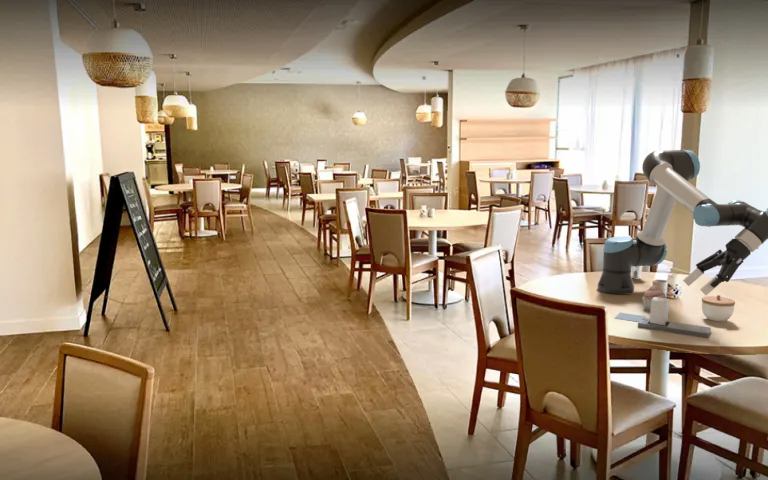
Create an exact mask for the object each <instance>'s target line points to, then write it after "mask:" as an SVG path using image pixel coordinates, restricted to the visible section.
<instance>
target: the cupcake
mask: <svg viewBox="0 0 768 480" xmlns="http://www.w3.org/2000/svg"><path fill="white" fill-rule="evenodd" d="M643 294H644V295H642V296H641V300H642V301H643V306H644V309H645V310H646V311H649V312H650V311H651V300H652V299H653V298H654V297H659V298H666V297H667V296H666V293H665V292H664V291H663V290H662V289H661V288H659V287H658V286H657V284H654V285H652V286H650V287H648V289H646V290H645V292H644V293H643Z"/></svg>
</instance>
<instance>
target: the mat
mask: <svg viewBox="0 0 768 480" xmlns="http://www.w3.org/2000/svg"><path fill="white" fill-rule="evenodd" d="M642 318H646V315H639V314H633V313H628V312H627V313H626V312H619V313H618V314H617V315H616V316H615V317H614V320H615V319H617V320H621V321H628V322H636V323H638V322H639V321H640V320H641V319H642Z"/></svg>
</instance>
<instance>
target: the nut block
mask: <svg viewBox="0 0 768 480" xmlns="http://www.w3.org/2000/svg"><path fill="white" fill-rule="evenodd" d="M669 306H670V298H666V297H665V298H659V297H654V298H653V299H652V300H651V311H649V313H650V314H649V319H650V324H653V325H659V326H666V327H667V323H668V321H669V320H668V319H669V310H670V309H669Z"/></svg>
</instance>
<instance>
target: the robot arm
mask: <svg viewBox="0 0 768 480" xmlns="http://www.w3.org/2000/svg"><path fill="white" fill-rule="evenodd" d="M642 162H643V163H642V167H641V168H642V172H643V175H644V176H645V178H646V179H647V180H648V181H649V182H651V184H653V185H655V186H658V187H657V190H656V192H655V195H654V197H653V200H652V203H651V206H650V209H649V211H648V214H647V217H646V219H645V222H644V225H643V228H642V230H640V231H638V232H637V233H636V236H635V238H634V239H633V238H632V237H631V236H613V237H610V238H607V239H606V240H605V241H604V245H603V259H602V261H603V262H602V273H601V276H600V277H599V280H598V283H597V291H599V292H601V293H606V294H612V295H631V294H633V293H635V285H634V281H633V279H632V277H631V267H632V266H643V267H644V266H645V267H653V266H657V265H660V264H661V263H663V261H665V258H666V257H667V253H668V250H667V248H668V247H667V245H666V241H665V238H664V234H665V232H666V229H667V226H668V224H669V221H670V218H671V217H672V214H673V210H674V208H675V206H676V203H677V201H678V203H680V204H681V205H682V206H684V207H685V208H686V209H687V210H688V211H690V212H691V213H692V218H693V220H694V223H695V224H696V225H697V226H699V227H709V228H710V227H722V226H724V227H725V226H727V227H728V226H741V227H743V228H742V229H741V230H740V231H739V232H738V233H737V234H736V235H735V236H734V238H731V239H730V240H729V241H728V242H727V243H726V244H725V249H726V250H724V251H722V249H718V250H717V251H716V252H714V253H713V254H711V255H710V256H708V257H706V258H705V259H703V260H701V261H700V262H697V263H696V264H695V266H696V268H695V269H694V270H693V271H692V272H691V273H689V274H688V275H687V276H685V278H684V279H683V280H682V281H683V283H685V284H686V285H687V286H688V287H690V286H691V285H692V284H693V283H694V282H696V281H697V280H698V279H699V278H700V277H701V276H702V275H704V274H705V272H706V271H709V270H711V269H713V268H717V266H718V267H720V269H719V270H718V271H719V272H718V273H717V274H715V276H713V277H712V278H711V279H710V280H709V281H707V282H706V283H705V284H704V285H703V286H702V287H701V288H700V291H701V292H702V293H703V294H704V295H705V296H708V295H709V294H710V293H711V292H713V290H714V289H716V288H717V287H718V286H719V285H720V284H721V283H724V282H726V283H728V282H729V281H730V280H731V279H732V277H733V276H734V275H735V273H736V272H737V270H738V268H739V267H740V266H742V264H743V263H744V260H746V259H747V258H748V257H749V256H750V255H751V253H754V252H755V251H756V250H759V248H760V246H761V245H763V244H765V242H766V241H767V240H768V208H767V207H766V209H764V210H761V209H758V208H756V207H754V206H752V205H750V204H748V203H747V202H745V201H741V200H739V199H733V200H731V201H729V202H728V203H724V204H720V203H717V202H715V201H714V200H712V199H711V198H710V197H709V196H707V195H706V194H705V193H704V192H702V191H701V189H698V188H697V187H696V186H695V185H693V184H692V183H691V182H690V180H693V179H695V178H696V177H698V175H699V173H700V170H701V163H700V159H699V157H698V155H697V154H696V153H695V152H694V151H692V150H687V149H686V150H685V149H667V150H665V149H659V150H654V151H652V152H651V153H649V154H648V155H647V156H646V157H645V158H644V159H643V161H642Z"/></svg>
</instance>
